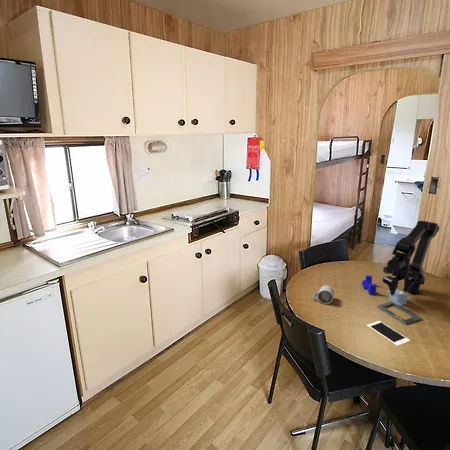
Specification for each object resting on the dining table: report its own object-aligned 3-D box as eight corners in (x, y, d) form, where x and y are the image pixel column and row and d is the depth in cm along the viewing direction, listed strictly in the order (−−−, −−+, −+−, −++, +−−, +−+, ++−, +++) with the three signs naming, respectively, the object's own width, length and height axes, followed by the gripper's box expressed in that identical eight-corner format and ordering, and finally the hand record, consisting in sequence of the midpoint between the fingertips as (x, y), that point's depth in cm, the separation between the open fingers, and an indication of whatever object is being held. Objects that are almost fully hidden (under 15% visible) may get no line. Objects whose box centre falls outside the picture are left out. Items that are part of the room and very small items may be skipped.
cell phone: (397, 346, 131) (397, 345, 131) (366, 326, 145) (366, 324, 145) (410, 341, 134) (410, 340, 134) (379, 321, 148) (379, 320, 148)
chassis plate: (391, 303, 163) (392, 300, 162) (420, 319, 149) (421, 316, 148) (377, 307, 159) (377, 305, 159) (405, 324, 145) (405, 322, 145)
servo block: (392, 296, 169) (393, 286, 168) (408, 305, 161) (410, 294, 159) (386, 297, 168) (387, 287, 166) (403, 307, 159) (404, 296, 157)
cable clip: (361, 284, 183) (362, 275, 181) (370, 285, 182) (371, 275, 180) (366, 295, 172) (367, 284, 170) (375, 295, 171) (376, 285, 169)
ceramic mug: (333, 297, 170) (334, 284, 167) (332, 305, 162) (333, 291, 160) (313, 294, 174) (313, 281, 171) (311, 302, 166) (311, 288, 164)
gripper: (402, 256, 169) (398, 283, 173) (375, 262, 162) (372, 290, 167) (421, 264, 159) (417, 292, 164) (394, 271, 152) (390, 300, 157)
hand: (398, 293), depth 163 cm, fingers open, 9 cm apart
